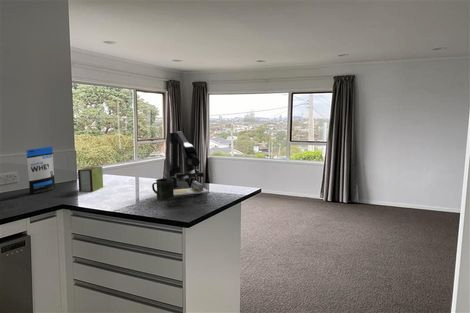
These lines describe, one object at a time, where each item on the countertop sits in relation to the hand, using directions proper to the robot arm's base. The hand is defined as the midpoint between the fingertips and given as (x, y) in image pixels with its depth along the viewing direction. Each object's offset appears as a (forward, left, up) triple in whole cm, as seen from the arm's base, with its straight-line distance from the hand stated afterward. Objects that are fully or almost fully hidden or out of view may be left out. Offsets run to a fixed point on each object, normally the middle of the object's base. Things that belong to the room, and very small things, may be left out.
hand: (189, 187), depth 235 cm
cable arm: (-3, +6, -2) cm, 8 cm away
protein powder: (-48, -91, -4) cm, 104 cm away
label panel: (-3, +1, -4) cm, 5 cm away
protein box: (-40, -60, -4) cm, 73 cm away
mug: (+8, -19, -4) cm, 21 cm away
